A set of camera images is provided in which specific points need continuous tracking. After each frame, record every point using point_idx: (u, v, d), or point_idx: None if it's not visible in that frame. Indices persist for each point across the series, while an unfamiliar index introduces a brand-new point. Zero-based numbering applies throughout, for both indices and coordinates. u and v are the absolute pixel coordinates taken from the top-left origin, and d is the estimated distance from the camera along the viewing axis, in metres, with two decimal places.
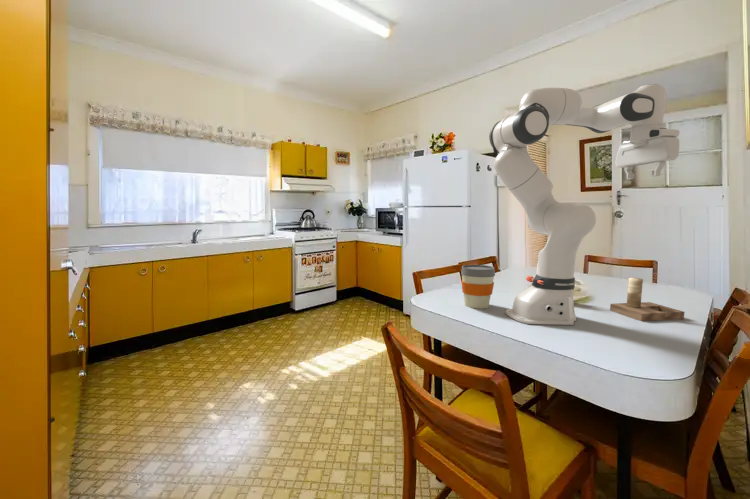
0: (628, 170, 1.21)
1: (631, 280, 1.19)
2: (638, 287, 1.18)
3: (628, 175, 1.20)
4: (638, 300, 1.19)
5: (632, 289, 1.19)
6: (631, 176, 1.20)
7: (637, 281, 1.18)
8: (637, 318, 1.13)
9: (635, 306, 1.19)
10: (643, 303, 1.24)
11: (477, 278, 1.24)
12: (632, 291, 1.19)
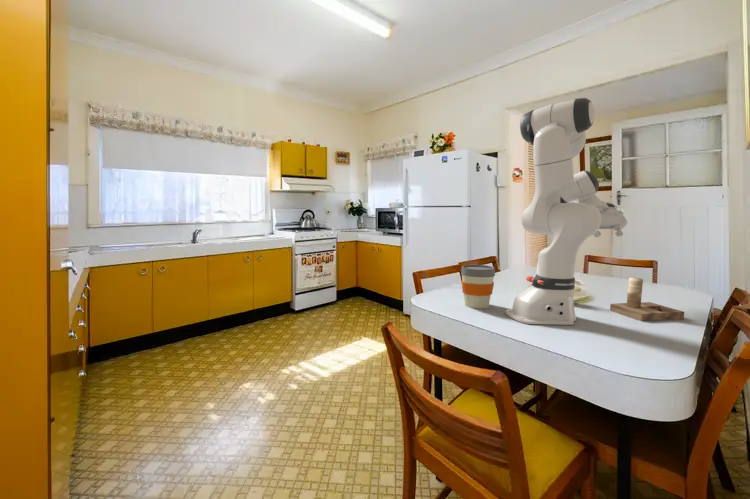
0: None
1: (631, 280, 1.19)
2: (638, 287, 1.18)
3: (598, 232, 1.30)
4: (638, 300, 1.19)
5: (632, 289, 1.19)
6: None
7: (637, 281, 1.18)
8: (637, 318, 1.13)
9: (635, 306, 1.19)
10: (643, 303, 1.24)
11: (477, 278, 1.24)
12: (632, 291, 1.19)
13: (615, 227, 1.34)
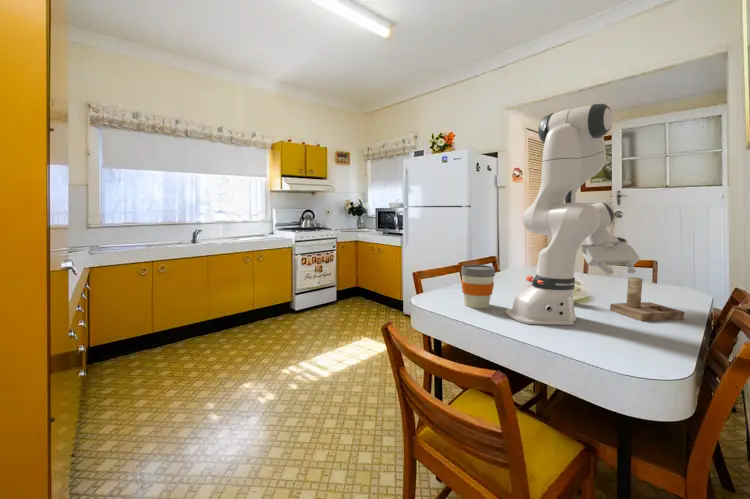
0: None
1: (631, 280, 1.19)
2: (637, 287, 1.18)
3: (610, 269, 1.25)
4: (638, 300, 1.19)
5: (632, 289, 1.19)
6: None
7: (637, 281, 1.18)
8: (637, 318, 1.13)
9: (635, 306, 1.19)
10: (643, 303, 1.24)
11: (477, 278, 1.24)
12: (632, 291, 1.19)
13: (627, 263, 1.29)
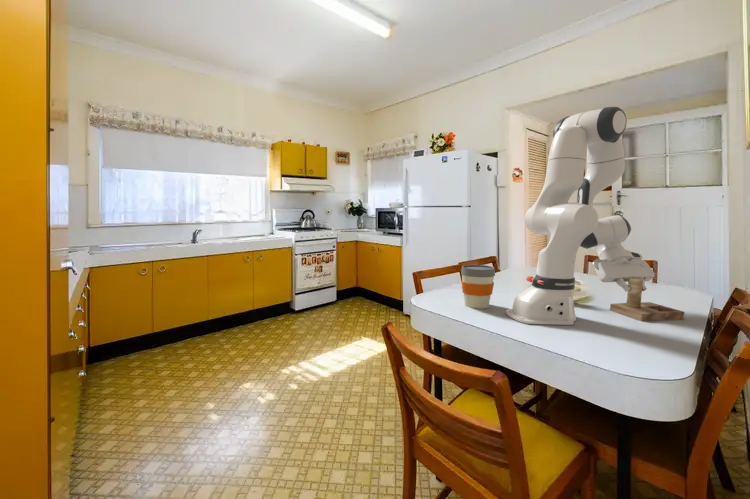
0: None
1: (631, 280, 1.19)
2: (638, 287, 1.18)
3: (628, 286, 1.19)
4: (638, 300, 1.18)
5: (632, 289, 1.19)
6: None
7: (637, 281, 1.18)
8: (637, 318, 1.13)
9: (635, 306, 1.19)
10: (643, 303, 1.24)
11: (477, 278, 1.24)
12: (632, 291, 1.19)
13: None
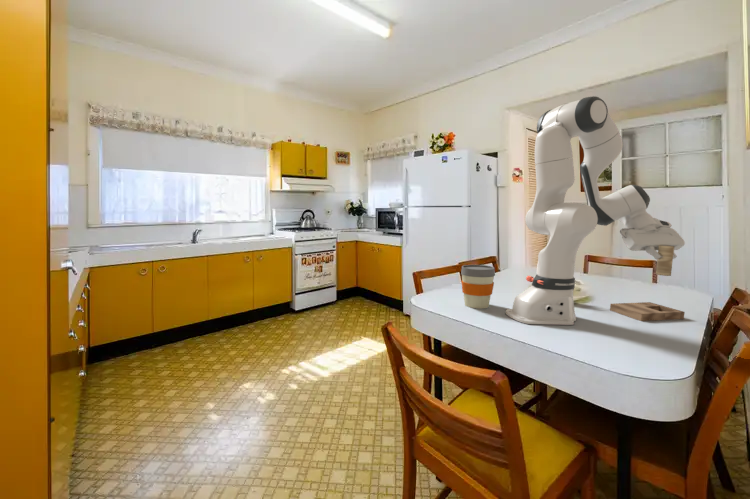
0: None
1: (662, 247, 1.15)
2: (669, 254, 1.14)
3: (659, 253, 1.15)
4: (669, 268, 1.14)
5: (663, 257, 1.15)
6: None
7: (669, 248, 1.13)
8: (637, 318, 1.13)
9: (666, 274, 1.15)
10: (643, 303, 1.24)
11: (477, 278, 1.24)
12: (663, 259, 1.15)
13: None
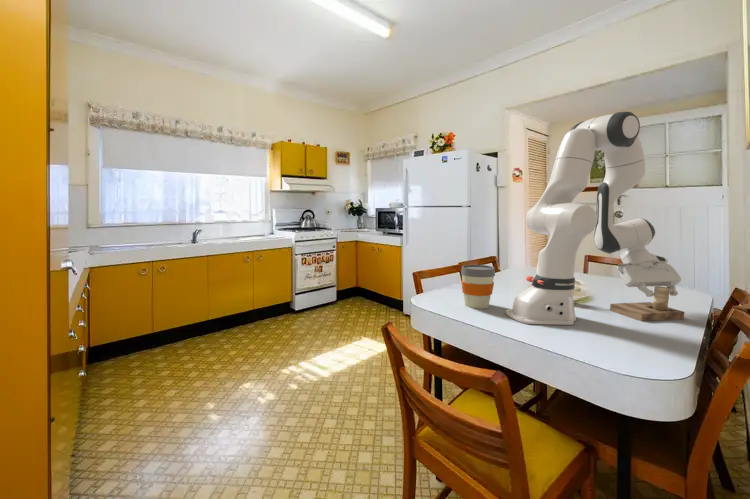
0: None
1: (658, 289, 1.16)
2: (665, 296, 1.15)
3: (650, 291, 1.16)
4: (665, 310, 1.16)
5: (659, 298, 1.16)
6: None
7: (664, 290, 1.15)
8: (637, 318, 1.13)
9: None
10: (643, 303, 1.24)
11: (477, 278, 1.24)
12: (659, 300, 1.16)
13: (667, 284, 1.20)
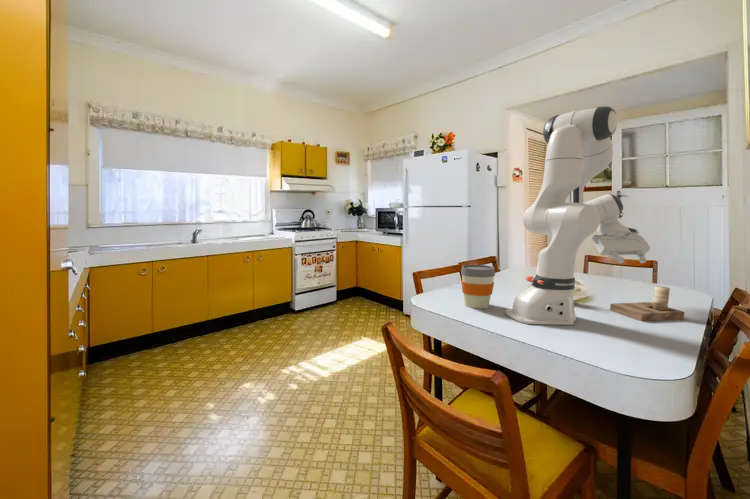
0: None
1: (658, 289, 1.16)
2: (665, 296, 1.15)
3: (621, 258, 1.27)
4: (665, 309, 1.16)
5: (659, 298, 1.16)
6: None
7: (664, 290, 1.15)
8: (637, 318, 1.13)
9: None
10: (643, 303, 1.24)
11: (477, 278, 1.24)
12: (659, 300, 1.16)
13: (638, 253, 1.31)
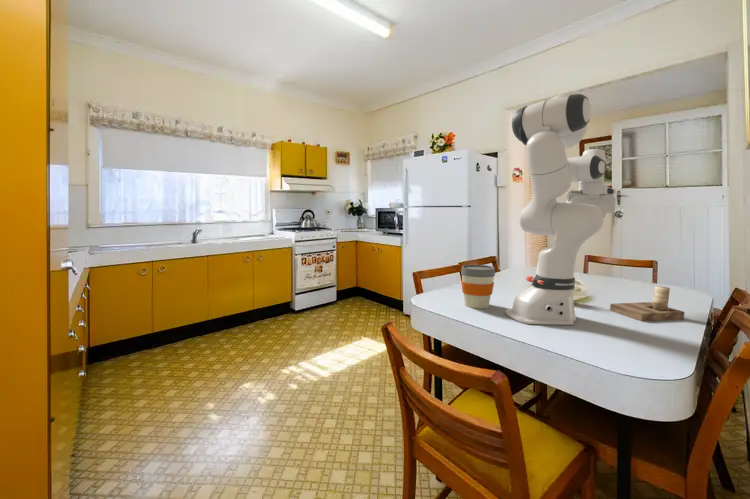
0: None
1: (658, 289, 1.16)
2: (665, 296, 1.15)
3: None
4: (665, 309, 1.16)
5: (659, 298, 1.16)
6: None
7: (664, 290, 1.15)
8: (637, 318, 1.13)
9: None
10: (643, 303, 1.24)
11: (477, 278, 1.24)
12: (659, 300, 1.16)
13: None
